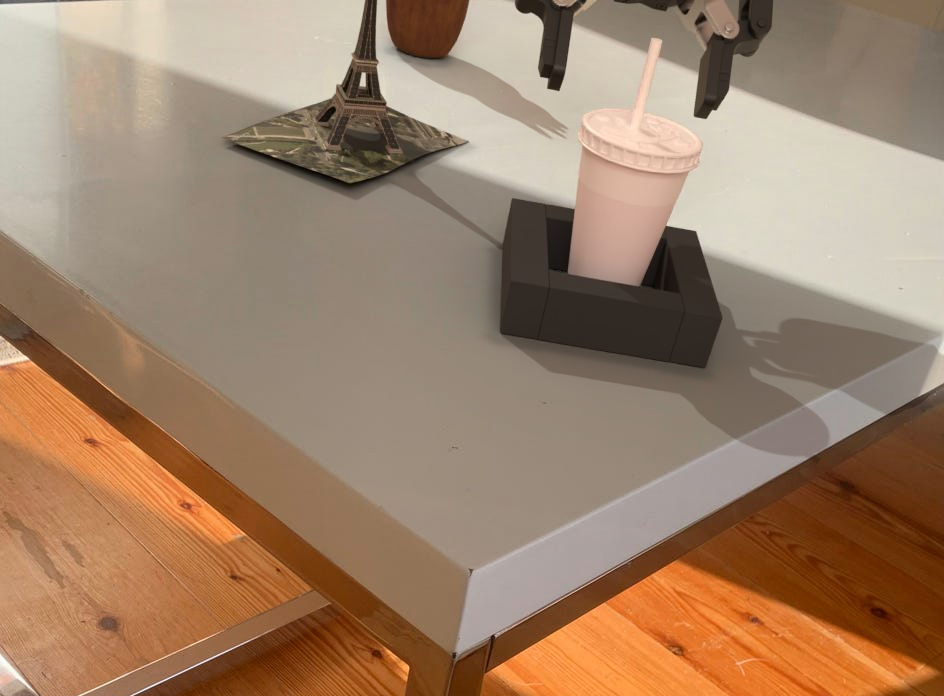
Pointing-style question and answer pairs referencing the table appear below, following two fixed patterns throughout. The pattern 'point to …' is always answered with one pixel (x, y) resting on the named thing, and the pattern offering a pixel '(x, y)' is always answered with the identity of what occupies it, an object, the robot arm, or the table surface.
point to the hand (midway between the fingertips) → (630, 97)
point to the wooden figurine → (425, 25)
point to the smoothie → (627, 185)
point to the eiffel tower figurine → (348, 125)
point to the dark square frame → (605, 293)
